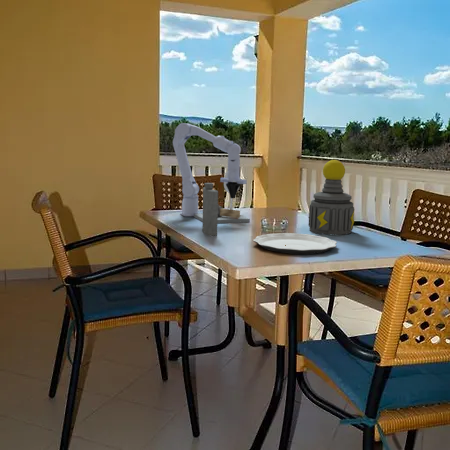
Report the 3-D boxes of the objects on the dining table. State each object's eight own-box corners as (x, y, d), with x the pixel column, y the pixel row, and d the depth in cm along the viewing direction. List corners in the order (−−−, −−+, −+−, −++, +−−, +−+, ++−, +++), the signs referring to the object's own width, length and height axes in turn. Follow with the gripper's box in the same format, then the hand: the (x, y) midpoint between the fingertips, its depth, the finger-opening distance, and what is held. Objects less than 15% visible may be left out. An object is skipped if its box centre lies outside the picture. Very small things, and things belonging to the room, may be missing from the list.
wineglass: (219, 212, 264) (220, 171, 260) (235, 211, 268) (236, 171, 264) (226, 215, 256) (228, 172, 253) (242, 214, 260) (243, 172, 256)
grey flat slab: (193, 216, 248) (193, 213, 248) (236, 215, 256) (236, 212, 255) (205, 223, 230) (205, 219, 230) (251, 222, 237) (251, 218, 237)
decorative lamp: (343, 237, 206) (348, 161, 201) (300, 231, 216) (304, 159, 211) (359, 230, 222) (364, 160, 216) (318, 225, 231) (321, 158, 226)
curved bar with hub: (201, 214, 244) (202, 203, 243) (208, 213, 248) (208, 202, 247) (236, 218, 234) (236, 207, 233) (241, 217, 238) (242, 206, 237)
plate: (271, 258, 168) (271, 251, 168) (243, 240, 196) (243, 234, 195) (351, 254, 176) (352, 247, 176) (313, 238, 204) (314, 232, 204)
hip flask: (217, 236, 202) (219, 184, 198) (207, 236, 201) (208, 184, 197) (209, 228, 217) (210, 181, 213) (199, 229, 216) (200, 181, 213)
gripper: (216, 168, 246) (215, 197, 248) (240, 170, 237) (239, 200, 239) (226, 168, 251) (225, 196, 254) (249, 170, 242) (248, 199, 245)
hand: (232, 198), depth 247 cm, fingers closed
